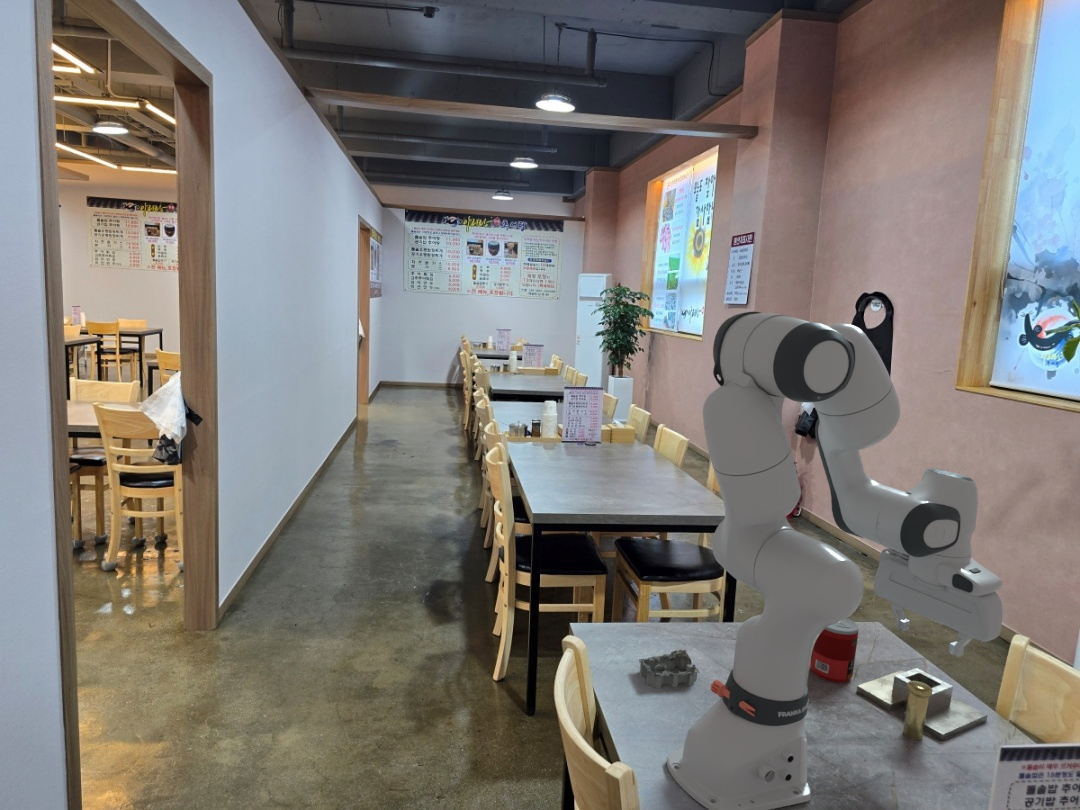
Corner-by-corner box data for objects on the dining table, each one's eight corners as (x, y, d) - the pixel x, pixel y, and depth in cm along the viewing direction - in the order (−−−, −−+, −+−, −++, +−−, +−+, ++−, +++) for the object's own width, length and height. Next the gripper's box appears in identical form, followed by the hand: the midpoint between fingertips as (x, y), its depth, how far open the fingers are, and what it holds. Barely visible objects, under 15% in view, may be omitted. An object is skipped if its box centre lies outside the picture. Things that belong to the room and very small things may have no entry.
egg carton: (686, 667, 138) (688, 648, 138) (701, 688, 131) (703, 668, 131) (635, 669, 137) (637, 649, 136) (647, 690, 129) (649, 670, 129)
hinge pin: (916, 743, 117) (924, 695, 116) (895, 731, 120) (902, 683, 119) (929, 738, 119) (937, 690, 117) (909, 725, 122) (916, 679, 121)
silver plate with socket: (941, 741, 118) (945, 714, 117) (856, 691, 132) (859, 667, 132) (986, 720, 125) (990, 695, 124) (901, 675, 139) (904, 652, 138)
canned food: (856, 686, 134) (863, 633, 132) (813, 680, 136) (819, 628, 134) (847, 666, 142) (853, 616, 140) (806, 660, 143) (812, 611, 141)
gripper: (870, 546, 122) (862, 619, 124) (990, 591, 105) (978, 674, 107) (892, 541, 125) (883, 612, 127) (1013, 584, 108) (1000, 665, 110)
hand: (928, 641), depth 117 cm, fingers open, 8 cm apart
